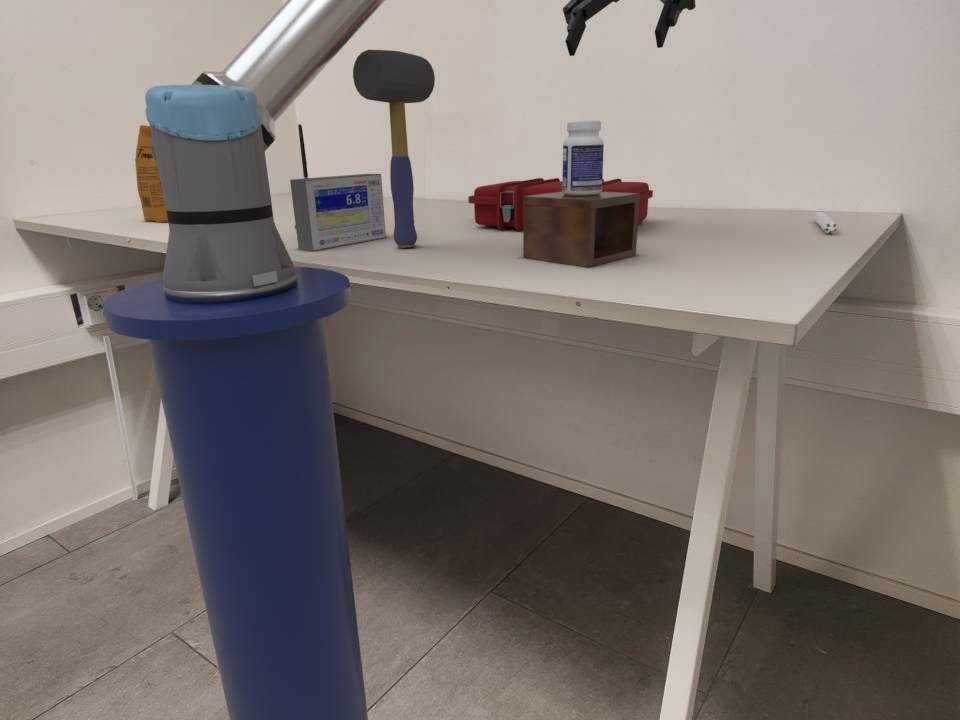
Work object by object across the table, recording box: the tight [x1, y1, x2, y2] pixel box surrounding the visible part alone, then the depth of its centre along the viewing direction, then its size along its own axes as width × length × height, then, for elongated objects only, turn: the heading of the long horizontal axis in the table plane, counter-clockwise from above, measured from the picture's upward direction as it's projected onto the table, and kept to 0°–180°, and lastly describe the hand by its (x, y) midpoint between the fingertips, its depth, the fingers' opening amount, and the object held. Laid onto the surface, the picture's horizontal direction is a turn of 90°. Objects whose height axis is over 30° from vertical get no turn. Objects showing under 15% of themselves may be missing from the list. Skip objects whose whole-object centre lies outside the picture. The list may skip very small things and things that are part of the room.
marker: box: [814, 211, 838, 235], centre depth 113 cm, size 18×2×2 cm, turn 158°
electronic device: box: [289, 123, 387, 252], centre depth 108 cm, size 17×7×20 cm, turn 143°
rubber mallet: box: [352, 49, 436, 249], centre depth 100 cm, size 12×8×30 cm, turn 145°
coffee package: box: [134, 124, 168, 223], centre depth 148 cm, size 10×12×22 cm
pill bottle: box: [561, 120, 605, 196], centre depth 88 cm, size 6×6×10 cm
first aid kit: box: [467, 177, 654, 232], centre depth 125 cm, size 32×23×9 cm
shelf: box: [522, 192, 640, 268], centre depth 91 cm, size 12×12×9 cm
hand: (612, 44), depth 92 cm, fingers open, 13 cm apart
